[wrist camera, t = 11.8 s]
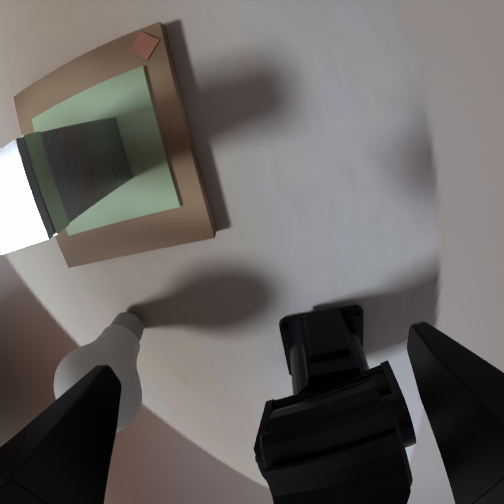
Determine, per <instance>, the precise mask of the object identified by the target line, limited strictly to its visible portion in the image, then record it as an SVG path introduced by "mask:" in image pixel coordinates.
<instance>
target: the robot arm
mask: <svg viewBox="0 0 504 504" xmlns="http://www.w3.org/2000/svg"><path fill="white" fill-rule="evenodd" d="M355 311H358V312H356V313H354V312H355ZM284 324H288V325H284ZM279 327H280V332H281V337H282V342H283V346H284V351H285V356H286V360H287V365H288V370H289V374H290V375H291V376H292V385H293V395H292V396H289V397H285V398H282V399H278V400H274V399H273V400H269V401H266V404H265V408H264V412H263V415H262V419H261V423H260V426H259V430H258V434H257V437H256V442H255V446H254V452H255V454H256V456H255V460H256V462H257V463H258V466H259V469H260V472H261V474H262V476H263V477H264V479H265V480H266V481H267V483H268V485H269V488H270V491H271V494H272V497H273V502H274V504H407V502H408V499H409V496H410V491H411V490H410V487H411V484H412V474H411V470H410V466H409V462H408V458H407V454H406V450H405V447H409V446H411V445H413V444H416V437H415V432H414V428H413V424H412V421H411V417H410V414H409V411H408V408H407V405H406V402H405V399H404V396H403V394H402V392H401V389H400V387H399V385H398V382H397V380H396V378H395V375H394V373H393V371H392V369H391V366H390V364H389V362H388V360H387V361H385V362H383V363H380V364H381V365H379V366H376V367H374V368H371V369H369V366H368V363H367V360H366V357H365V354H364V351H363V310H362V307H361V306H359V305H354V306H349V307H343V308H338V309H333V310H328V311H322V312H317V313H311V314H305V315H300V316H294V317H288V318H283V319H281V320H280V322H279ZM407 351H408V355H409V358H410V362H411V365H412V369H413V372H414V376H415V380H416V383H417V387H418V391H419V395H420V398H421V401H422V404H423V406H424V409H425V411H426V414H427V417H428V419H429V422H430V425H431V428H432V430H433V433H434V436H435V439H436V442H437V445H438V448H439V451H440V454H441V457H442V460H443V463H444V466H445V469H446V472H447V476H448V479H449V482H450V486H451V489H452V492H453V496H454V500H455V503H456V504H504V373H503V372H502V371H500V370H499V369H497V368H496V367H494V366H493V365H491V364H490V363H488V362H487V361H485V360H483V359H482V358H480V357H479V356H477V355H476V354H475V353H473V352H471V351H470V350H468V349H467V348H465V347H464V346H462V345H461V344H459V343H458V342H456V341H455V340H453V339H451V338H450V337H448V336H447V335H445V334H444V333H442V332H441V331H439V330H437V329H436V328H434V327H433V326H431V325H430V324H428V323H426V322H424V321H422V322H418V323H414V324H412V325H411V326H410V329H409V336H408V343H407ZM121 390H122V385H121V382H120V380H119V379H118V377H117V376H116V374H115V373H114V371H113V370H112V368H111V367H110V366H109V365H97V366H95V367H94V368H93V369H92V370H90V371H89V372H88V373H87V374H86V375H85V376H83V377H82V378H81V379H80V380H79V381H78V382H76V383H75V384H74V385H73V386H72V387H71V388H69V389H68V390H67V391H66V392H65V393H64V394H62V395H61V396H60V397H59V398H58V399H57V400H55V401H54V402H53V403H52V404H51V405H50V406H49V407H47V408H46V409H45V410H44V411H43V412H41V413H40V414H39V415H38V416H37V417H36V418H35V419H33V420H32V421H31V422H30V423H29V424H28V425H26V427H24V428H23V429H22V430H21V431H20V432H18V433H17V434H16V435H15V436H14V437H12V438H11V439H10V440H9V441H8V442H6V443H5V444H4V445H2V446H1V447H0V504H104V498H105V491H106V485H107V479H108V472H109V467H110V462H111V456H112V451H113V446H114V441H115V436H116V431H117V424H118V415H119V406H120V398H121Z"/></svg>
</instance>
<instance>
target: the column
mask: <svg viewBox="0 0 504 504" xmlns="http://www.w3.org/2000/svg"><path fill="white" fill-rule="evenodd" d="M132 178H133V176H132V172H131V169H130V166H129V162H128V159H127V156H126V152H125V149H124V145H123V142H122V138H121V134H120V131H119V127H118V123H117V119H116V117H112V118H106V119H100V120H95V121H89V122H84V123H79V124H74V125H70V126H65V127H61V128H56V129H52V130H48V131H44V132H40V131H38V132H34V133H30V134H26V135H24V136H22V137H20V138H18V139H15V140H13V141H12V142H10V143H9V144H7V145H6V146H4V147H3V148H1V149H0V255H2V254H5V253H8V252H11V251H14V250H17V249H20V248H23V247H26V246H29V245H32V244H35V243H38V242H41V241H44V240H48V239H50V238H51V237H52V236H54V235H57V234H58V233H60V232H61V231H62V230H63V229H65V228H66V227H67V226H69V225H70V224H69V223H70V222H71V221H73V220H74V219H75V218H77V217H78V216H79V215H81V214H82V213H83V212H85V211H86V210H87V209H89V208H90V207H92V206H93V205H94V204H96V203H97V202H99V201H100V200H101V199H103V198H104V197H106V196H107V195H109V194H110V193H111V192H113V191H114V190H116V189H117V188H119V187H120V186H122V185H123V184H125V183H126V182H128V181H129V180H131V179H132Z"/></svg>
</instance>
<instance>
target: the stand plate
mask: <svg viewBox="0 0 504 504" xmlns="http://www.w3.org/2000/svg"><path fill="white" fill-rule="evenodd" d="M14 101H15V107H16V111H17V116H18V121H19V125H20V129H21V133H22V136H24V135H26V134H30V133H34V132H38V131H40V132H44V131H48V130H52V129H56V128H61V127H65V126H70V125H74V124H79V123H84V122H89V121H95V120H100V119H106V118H112V117H116V119H117V123H118V127H119V131H120V134H121V138H122V142H123V145H124V149H125V152H126V156H127V159H128V162H129V166H130V169H131V172H132V176H133V178H132V179H131V180H129V181H128V182H126V183H125V184H123V185H122V186H120V187H119V188H117V189H116V190H114V191H113V192H111V193H110V194H109V195H107V196H106V197H104V198H103V199H101V200H100V201H99V202H97V203H96V204H94V205H93V206H92V207H90V208H89V209H87V210H86V211H85V212H83V213H82V214H81V215H79V216H78V217H77V218H75V219H74V220H73V221H71V222H70V223H69V224H70V225H69V226H67V227H66V228H65V229H63V230H62V231H61V232H60V233H58V234H57V235H55V237H56V239H57V242H58V244H59V247H60V249H61V251H62V253H63V256H64V258H65V260H66V262H67V265H68V267H69V268H70V267H74V266H79V265H83V264H88V263H93V262H97V261H102V260H107V259H112V258H116V257H121V256H126V255H131V254H136V253H141V252H145V251H150V250H155V249H160V248H165V247H170V246H175V245H180V244H185V243H190V242H196V241H201V240H206V239H211V238H215V235H216V232H217V231H216V228H215V224H214V221H213V217H212V213H211V210H210V206H209V202H208V199H207V195H206V191H205V187H204V184H203V180H202V176H201V172H200V169H199V165H198V161H197V157H196V153H195V149H194V146H193V142H192V138H191V134H190V130H189V126H188V122H187V118H186V114H185V110H184V106H183V102H182V98H181V94H180V89H179V85H178V81H177V77H176V73H175V69H174V64H173V60H172V56H171V51H170V47H169V43H168V38H167V34H166V29H165V25H163V24H162V23H160V22H158V23H156V24H153V25H150V26H147V27H145V28H142V29H139V30H137V31H134V32H132V33H129V34H127V35H125V36H122V37H120V38H117V39H115V40H113V41H111V42H108V43H106V44H104V45H102V46H100V47H98V48H96V49H94V50H92V51H90V52H88V53H86V54H84V55H82V56H80V57H78V58H76V59H74V60H72V61H70V62H69V63H67V64H65V65H63V66H61V67H60V68H58V69H56V70H54V71H53V72H51V73H49V74H48V75H46V76H44V77H43V78H41V79H40V80H38V81H37V82H35V83H33V84H32V85H30V86H29V87H27V88H26V89H24V90H23V91H21V92H20V93H18V94H17V95H16V96H14Z"/></svg>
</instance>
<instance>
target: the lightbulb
mask: <svg viewBox="0 0 504 504" xmlns="http://www.w3.org/2000/svg"><path fill="white" fill-rule="evenodd" d="M143 330H144V326H143V323H142V321H141V320H140V319H139V318H138V317H137V316H136V315H134V314H132V313H129V312H122V313H120V314H118V315H117V316H116V318H115V319H114V321H113V322H112V323H111V325H110V326H108V327H107V328H105V330H104V331H103V332H102V334H101V335H100V336H99V337H98V338H97V339H96V340H95V341H93V342H92V343H90V344H87V345H84V346H82V347H80V348H78V349H75V350H73V351H72V352H70V353H69V354H68V355H67V356H65V357H64V358H63V360H62V361H61V363H60V364H59V366H58V368H57V370H56V374H55V379H54V392H55V397H56V400H57V399H58V398H59V397H60V396H61V395H62V394H64V393H65V392H66V391H67V390H68V389H69V388H71V387H72V386H73V385H74V384H75V383H76V382H78V381H79V380H80V379H81V378H82V377H83V376H85V375H86V374H87V373H88V372H89V371H90V370H92V369H93V368H94V367H95V366H97V365H109V366H110V367H111V368H112V370H113V371H114V373H115V374H116V376H117V377H118V379H119V380H120V382H121V385H122V390H121V398H120V406H119V415H118V424H117V431H116V432H118V431H121V430H122V429H124V428H126V427H127V426H129V425H130V423H131V422H132V421H133V420H134V419H135V417H136V416H137V414H138V412H139V410H140V407H141V402H142V389H141V384H140V379H139V375H138V372H137V365H136V361H137V356H138V352H139V349H140V343H139V341H140V339H141V336H142V333H143Z"/></svg>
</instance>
